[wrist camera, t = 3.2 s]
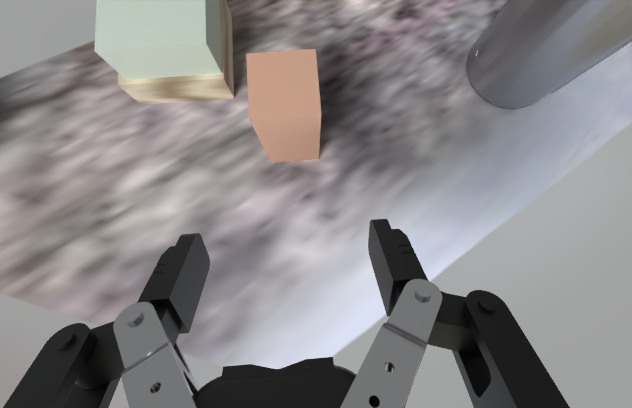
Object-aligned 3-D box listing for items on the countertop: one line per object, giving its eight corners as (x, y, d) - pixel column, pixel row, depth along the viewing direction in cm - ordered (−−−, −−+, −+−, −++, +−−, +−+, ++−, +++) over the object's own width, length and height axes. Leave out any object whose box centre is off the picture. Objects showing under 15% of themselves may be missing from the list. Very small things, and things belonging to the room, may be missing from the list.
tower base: (232, 19, 33) (221, -13, 29) (235, 100, 31) (223, 78, 27) (144, 24, 32) (121, -7, 29) (142, 106, 31) (117, 84, 27)
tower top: (219, -9, 29) (204, -50, 25) (221, 73, 27) (206, 43, 23) (128, -3, 28) (98, -44, 25) (126, 80, 27) (94, 51, 23)
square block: (315, 114, 30) (315, 48, 21) (318, 158, 30) (321, 113, 20) (268, 117, 30) (246, 53, 20) (270, 162, 30) (249, 118, 20)
